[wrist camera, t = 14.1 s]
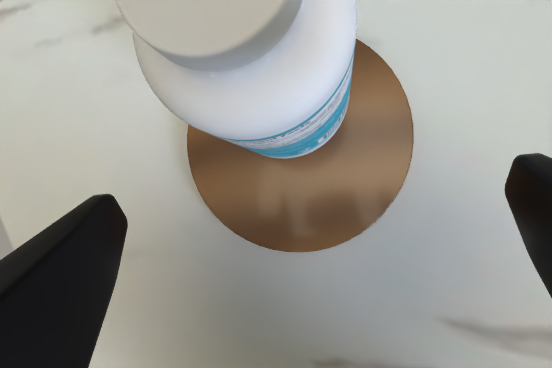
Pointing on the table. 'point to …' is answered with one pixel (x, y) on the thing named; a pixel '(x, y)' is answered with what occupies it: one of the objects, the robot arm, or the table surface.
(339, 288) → the table surface
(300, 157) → the disc
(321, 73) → the pill bottle
